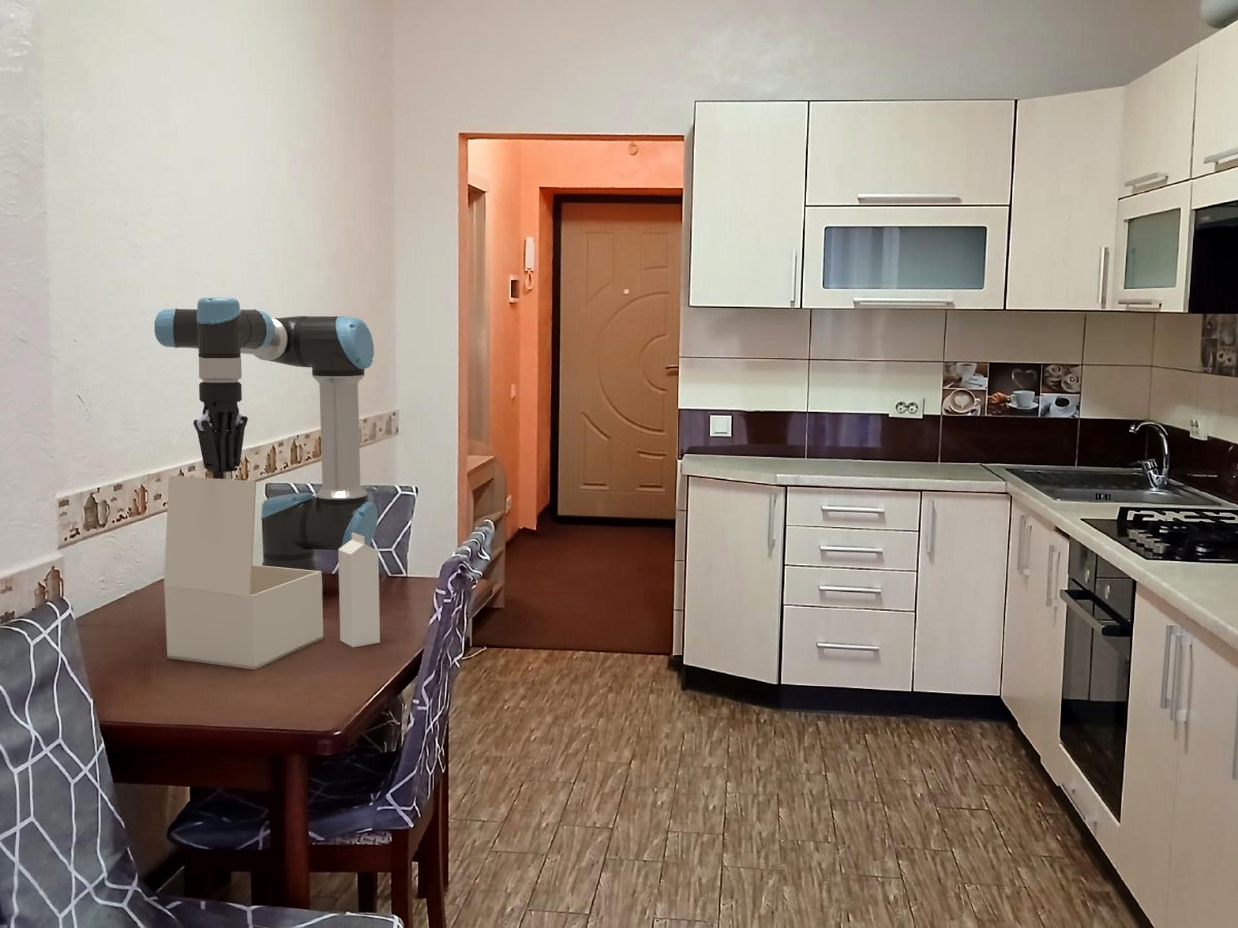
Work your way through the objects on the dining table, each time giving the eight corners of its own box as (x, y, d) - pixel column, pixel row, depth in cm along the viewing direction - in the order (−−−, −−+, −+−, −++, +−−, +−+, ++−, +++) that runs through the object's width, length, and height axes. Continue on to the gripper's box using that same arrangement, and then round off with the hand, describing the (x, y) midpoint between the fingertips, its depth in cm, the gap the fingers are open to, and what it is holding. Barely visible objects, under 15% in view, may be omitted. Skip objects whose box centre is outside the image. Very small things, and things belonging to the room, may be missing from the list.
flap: (171, 475, 220) (168, 475, 220) (256, 481, 214) (254, 481, 213) (166, 585, 220) (163, 585, 220) (250, 594, 214) (248, 594, 213)
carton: (241, 628, 243) (238, 563, 241) (323, 638, 236) (321, 571, 234) (167, 658, 222) (164, 586, 221) (255, 669, 216) (252, 595, 214)
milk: (352, 647, 230) (349, 538, 227) (339, 640, 235) (336, 533, 232) (380, 642, 234) (378, 535, 231) (367, 635, 239) (365, 530, 236)
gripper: (226, 379, 225) (229, 500, 227) (179, 381, 213) (183, 509, 215) (258, 380, 222) (261, 502, 225) (213, 382, 210) (217, 511, 213)
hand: (223, 505), depth 220 cm, fingers closed
